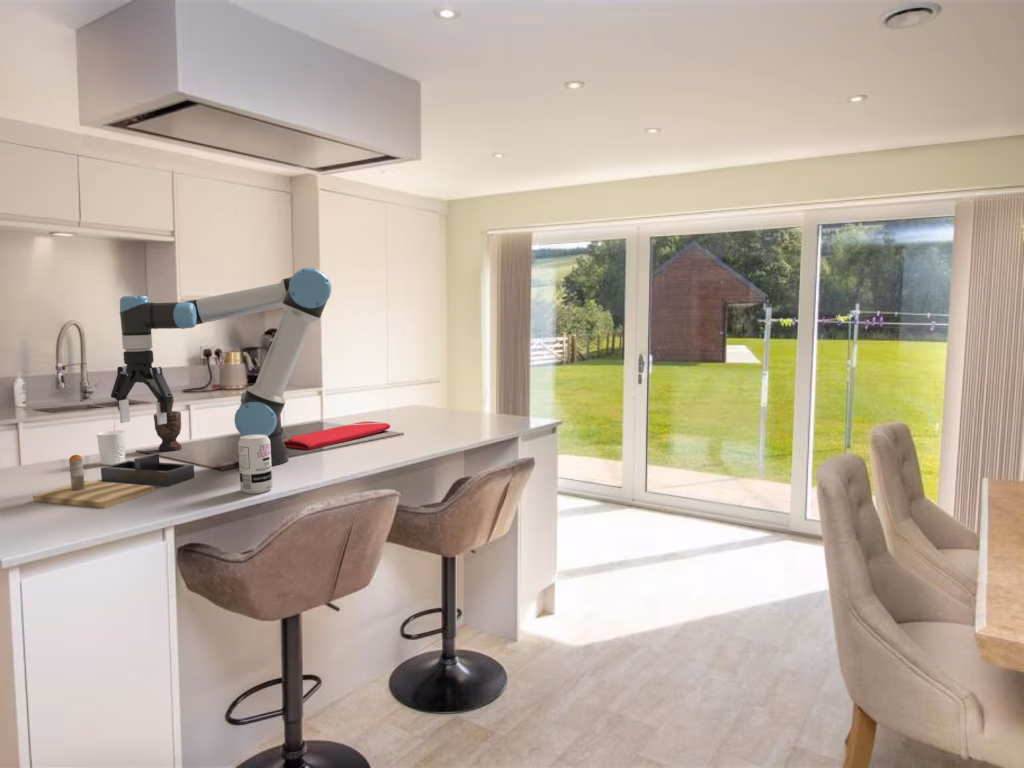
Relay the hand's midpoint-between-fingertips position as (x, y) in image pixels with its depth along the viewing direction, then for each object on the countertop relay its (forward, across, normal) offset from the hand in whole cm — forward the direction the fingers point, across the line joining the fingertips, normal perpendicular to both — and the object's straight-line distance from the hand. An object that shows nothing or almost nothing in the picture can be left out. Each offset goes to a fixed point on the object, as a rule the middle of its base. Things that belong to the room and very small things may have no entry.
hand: (143, 423), depth 202 cm
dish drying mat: (+17, -21, -69) cm, 74 cm away
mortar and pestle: (+17, +25, -36) cm, 47 cm away
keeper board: (+17, -1, +18) cm, 25 cm away
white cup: (+17, +29, -14) cm, 36 cm away
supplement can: (+17, -39, +2) cm, 43 cm away
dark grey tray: (+17, 0, 0) cm, 17 cm away
